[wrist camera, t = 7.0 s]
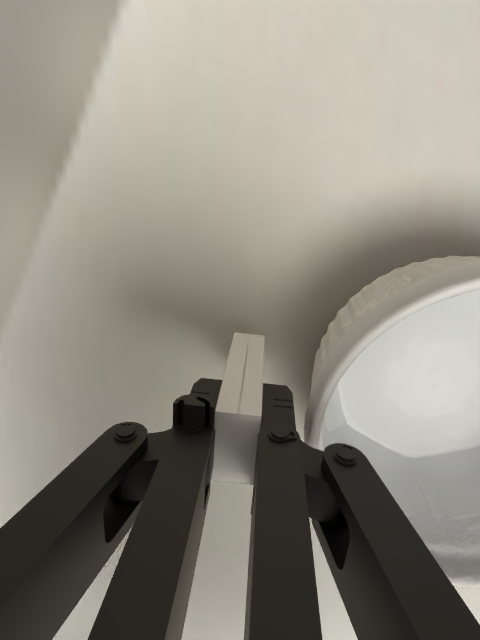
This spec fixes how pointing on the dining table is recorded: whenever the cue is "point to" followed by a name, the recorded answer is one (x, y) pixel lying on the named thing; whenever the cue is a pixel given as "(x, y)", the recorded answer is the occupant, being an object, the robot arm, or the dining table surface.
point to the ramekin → (412, 399)
